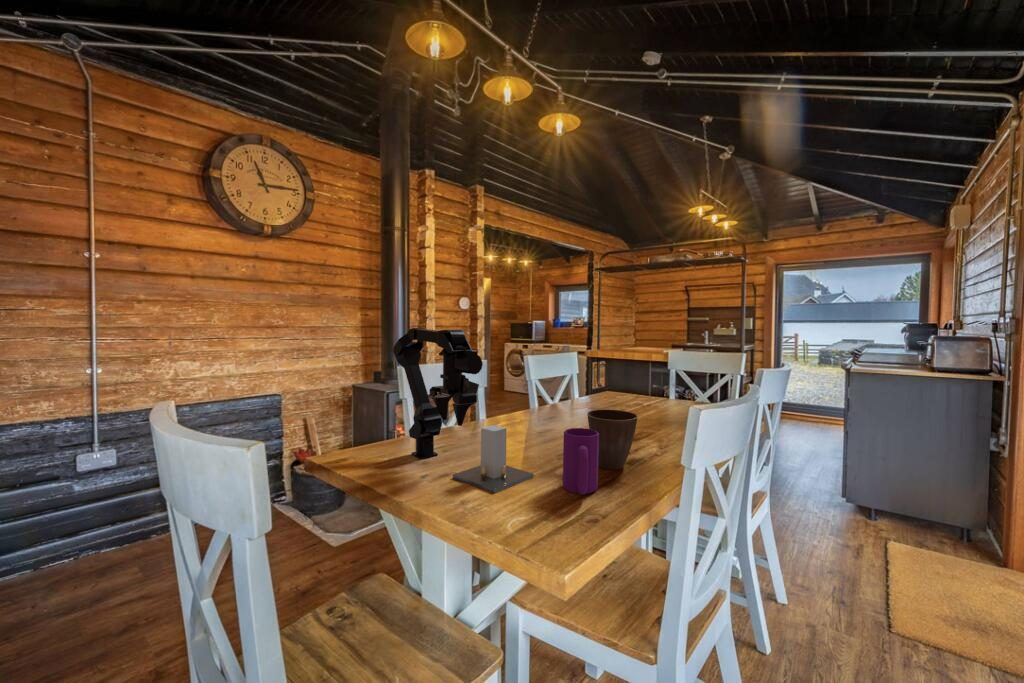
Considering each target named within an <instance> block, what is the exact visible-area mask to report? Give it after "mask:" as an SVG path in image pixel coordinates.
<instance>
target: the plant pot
mask: <svg viewBox="0 0 1024 683" xmlns="http://www.w3.org/2000/svg"><path fill="white" fill-rule="evenodd" d="M638 417H639V416H638V414H636V413H633V412H630V411H626V410H620V409H619V410H618V409H594V410H590V411H587V421H588V427H589V428H588V429H591V430H595V431H597V432H598V433H599V455H598V467H600V468H602V469H605V470H611V471H615V470H616V471H617V470H622V469H623V468H624V466H625V464H626V462H627V460H628V457H629V454H630V451H631V449H632V444H633V442H634V437H635V434H636V428H637V422H638Z"/></svg>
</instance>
